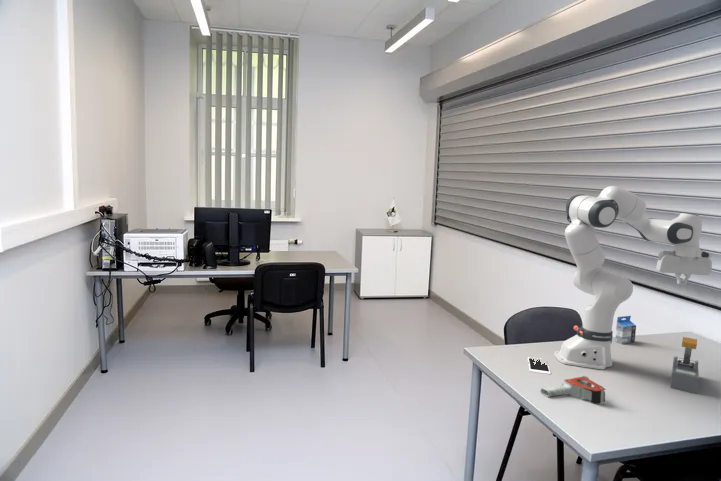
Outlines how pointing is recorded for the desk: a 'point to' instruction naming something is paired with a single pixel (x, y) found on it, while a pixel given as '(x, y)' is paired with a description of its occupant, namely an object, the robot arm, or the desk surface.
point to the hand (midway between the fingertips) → (681, 284)
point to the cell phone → (538, 366)
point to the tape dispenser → (578, 390)
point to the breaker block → (684, 376)
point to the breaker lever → (688, 351)
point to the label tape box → (625, 330)
